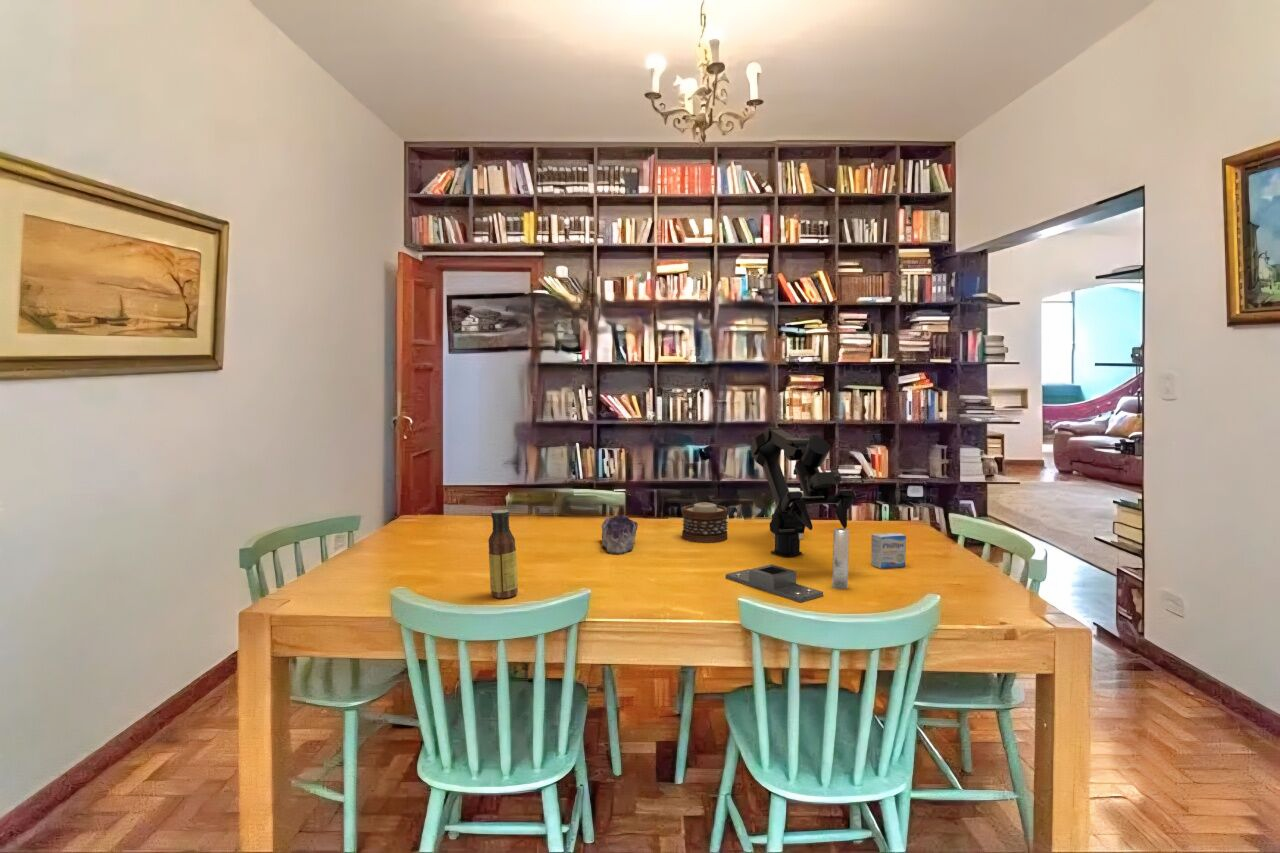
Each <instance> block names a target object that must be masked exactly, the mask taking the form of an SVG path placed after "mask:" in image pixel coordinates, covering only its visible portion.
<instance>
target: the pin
mask: <svg viewBox="0 0 1280 853" xmlns="http://www.w3.org/2000/svg"><path fill="white" fill-rule="evenodd" d="M832 543H833V544H832V545H833V546H832V548H833V549H832V583H831V585H832V588H833V589H836V590H847V589H849V559H850V558H849V554H850V553H849V550H850V548H849V547H850V529H847V528H845V529H844V528H843V527H842V528H841V527H839V528H838V527H837V528H834V529H833V542H832Z"/></svg>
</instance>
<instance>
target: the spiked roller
mask: <svg viewBox="0 0 1280 853" xmlns="http://www.w3.org/2000/svg"><path fill="white" fill-rule="evenodd" d="M681 512H682V513H681V518H682V519H683V520H681V521H682V524H681V525H682V531H681V538H682V539H683V540H684V541H687V542H690V543H696V544H717V543H722V542H726V541H727V540H728V530H729V528H728V527H729V526H728V525H729V524H728V523H730V522H728V521H727V520H728V519H729V517H728V513H729V512H728V507H726V506H723V505H718V504H715V503H712V502H707V501H706V502H703V501H702V502H698V503H694V504H689V505H685V506H683V507H682V511H681Z"/></svg>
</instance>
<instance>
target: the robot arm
mask: <svg viewBox="0 0 1280 853" xmlns="http://www.w3.org/2000/svg"><path fill="white" fill-rule="evenodd" d="M782 450H783V456H784V457H785V458H786V459H787V460H788V461H790V462H791V461H793V462H795V461H796V463H795V465H794V468H793V475H797V478H798V480H799V483H800V487H799V488H800V491H803V495H802V492H800V491H790V492H789V489H788V488H789V486H788V484H787V480H786V479H785V476H784V473H783V470H782V468H781V466H780V462H779V459H780V456H781V451H782ZM830 451H831V444H830V443H828V441H826V439H824V438H821V437H820V436H819V434H810V437H809V438H800V437H796V436H794V435H792V434H790V433H788V432H787V431H785V430H784V429H783V428H781V427H767V428H765V429H764V431H763V432H762V433H760V434H759V435H758V436H756V437H754V439H753V441H752V443H751V444H750V454H751V455H752V457H753V459H754V461H755V463H757V464H758V465H759V466H760V467H762V469H763V471H764V474H765V477H766V480H767V483H768V486H769V489H770V492H771V495H772V496H773V500H775V503H776V508H775V511H774V510H773V516H772V519H771V521H770V522H769V531H770V532H771V533H772V534H773V535H774V534H775V538H774V549H773V550H771V551H770V553H771V554H775V555H777V556H782V557H785V558H790V557H794V556H799V555H803V552H802V551H801V550H800V549H801V546H800V545H801V543H800V542H801V539H799V533H802V534H805V529H806V528H807V529H808V530H810V531H812V530H813V529H814V528H813V523H812V520H811V518H810V515H809V512H808V510H807V507H806V506H807V505H832V506H833V508H834V509H835V510H834V513H835V515H836V516H837V519H838V520H839V523H840V524H841V526H842V528H843V529H847V527H848V510H849V509H851V507H852V506H853V504H854V502H855V501H856V500H857V498H858V497H857V494H856V493H855V490H854V489H838V491H837V492H836V494H835V495H829V493H831V492H832V487H833V486H836V485H838V484H839V483H841V481H842V476H841V473H840V471H839V470H838V469H834V470H833V469H832V470H831V471H820V469H819V468H821V466H823V464H824V463H825V460H826V459H827V457H828V455H829V453H830Z"/></svg>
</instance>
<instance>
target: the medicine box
mask: <svg viewBox="0 0 1280 853" xmlns="http://www.w3.org/2000/svg"><path fill="white" fill-rule="evenodd" d="M870 547H871V548H870V549H871V551H870V552H871V553H870V564H871V566H873V567H875V568H877V567H878V568H877V569H880V570H886V569H885V568H887V569H897V568H905V567H906V558H907V557H906V556H907V555H906V554H907V536H906V534H903V533H900V532H888V533H887V532H885V533H871V546H870Z"/></svg>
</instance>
